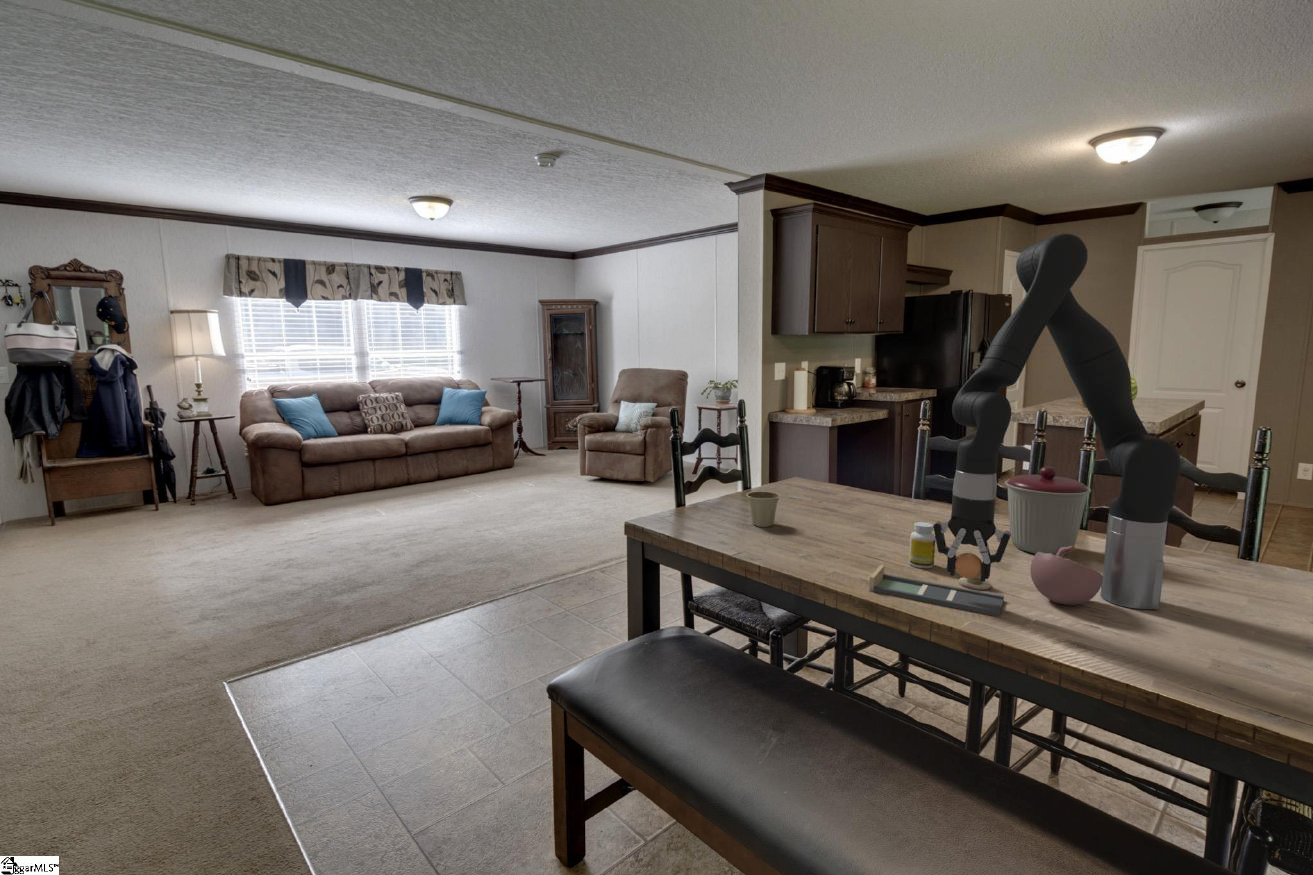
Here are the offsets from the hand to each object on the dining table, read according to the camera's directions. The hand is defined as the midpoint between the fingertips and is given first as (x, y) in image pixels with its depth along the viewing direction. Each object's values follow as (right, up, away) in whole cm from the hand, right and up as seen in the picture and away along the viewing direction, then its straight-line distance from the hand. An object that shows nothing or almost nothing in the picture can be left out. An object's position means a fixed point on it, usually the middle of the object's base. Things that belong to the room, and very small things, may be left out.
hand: (967, 577), depth 127 cm
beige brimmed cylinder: (+6, -4, +10) cm, 12 cm away
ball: (0, +2, 0) cm, 2 cm away
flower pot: (-31, +3, +56) cm, 64 cm away
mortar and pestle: (+19, -5, 0) cm, 20 cm away
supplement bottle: (0, -2, +22) cm, 22 cm away
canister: (+34, -1, +33) cm, 48 cm away
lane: (-5, -5, +4) cm, 8 cm away
